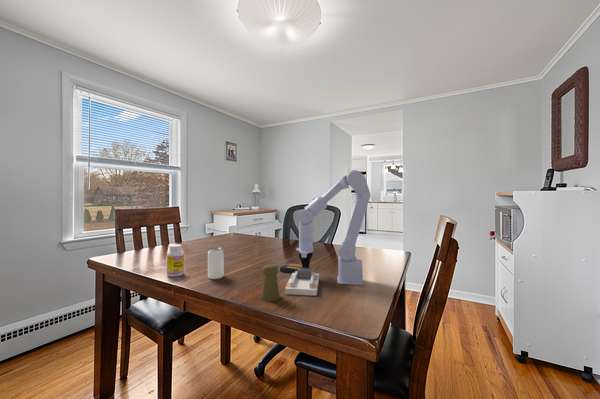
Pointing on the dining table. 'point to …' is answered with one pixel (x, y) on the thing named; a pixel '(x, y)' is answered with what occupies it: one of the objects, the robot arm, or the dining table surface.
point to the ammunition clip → (290, 268)
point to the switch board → (302, 285)
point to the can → (215, 263)
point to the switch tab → (304, 273)
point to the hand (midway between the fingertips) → (305, 270)
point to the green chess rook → (270, 283)
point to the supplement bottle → (175, 261)
